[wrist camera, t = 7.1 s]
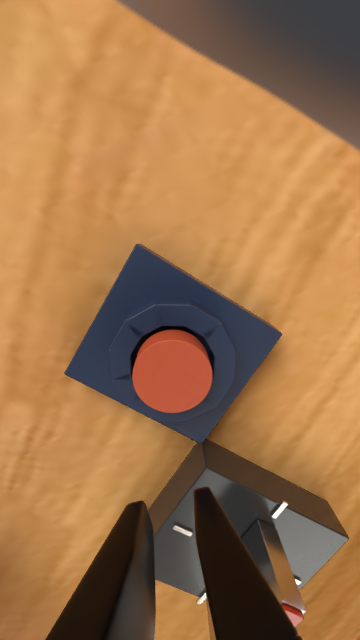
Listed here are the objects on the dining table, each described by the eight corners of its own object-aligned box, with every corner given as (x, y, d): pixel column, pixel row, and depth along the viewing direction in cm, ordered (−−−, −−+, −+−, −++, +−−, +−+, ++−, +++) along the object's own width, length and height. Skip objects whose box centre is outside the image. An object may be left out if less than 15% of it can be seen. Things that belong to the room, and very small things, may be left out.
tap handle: (222, 588, 21) (237, 686, 16) (204, 580, 20) (213, 677, 16) (276, 528, 19) (309, 616, 15) (257, 519, 19) (285, 606, 14)
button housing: (73, 362, 19) (52, 388, 16) (139, 243, 17) (132, 243, 14) (199, 427, 21) (204, 464, 17) (272, 325, 19) (294, 343, 15)
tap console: (132, 530, 23) (126, 575, 20) (204, 432, 21) (209, 465, 18) (252, 582, 25) (264, 630, 22) (330, 497, 23) (355, 537, 20)
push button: (123, 375, 16) (117, 390, 14) (159, 315, 15) (158, 325, 13) (184, 407, 16) (185, 425, 15) (222, 352, 16) (228, 365, 14)
